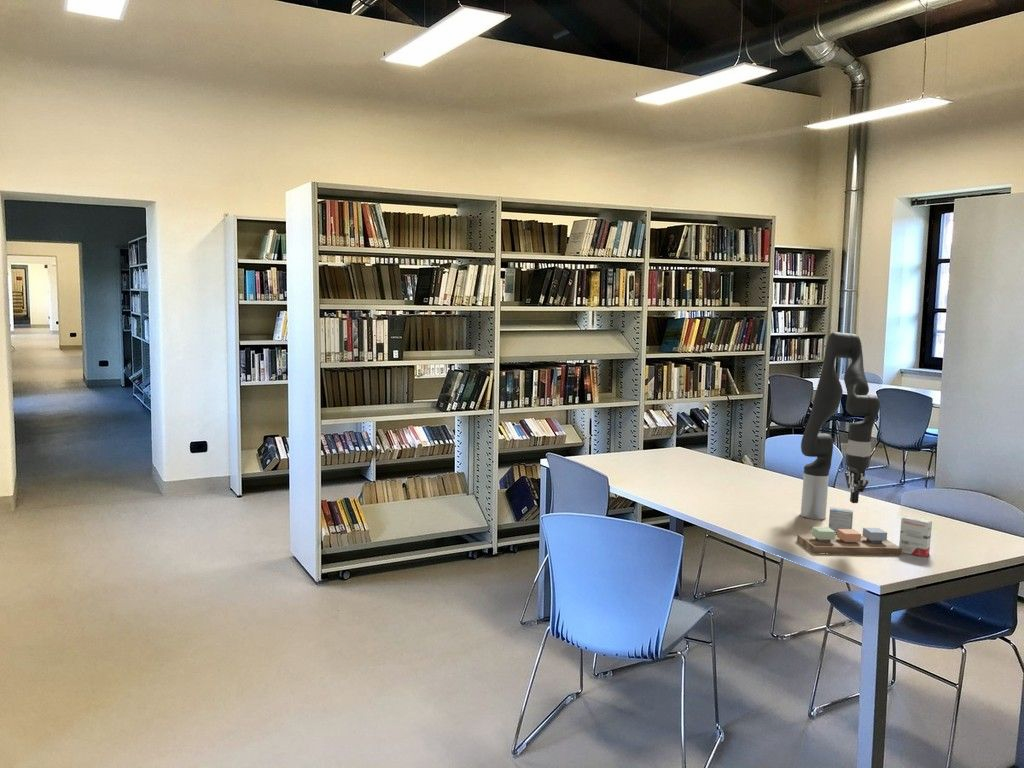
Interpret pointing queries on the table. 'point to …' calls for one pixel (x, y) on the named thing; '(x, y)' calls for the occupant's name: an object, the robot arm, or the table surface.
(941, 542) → the table surface
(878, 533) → the slate button
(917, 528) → the ink box
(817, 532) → the sage button
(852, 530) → the terracotta button
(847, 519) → the medicine box
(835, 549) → the button board
